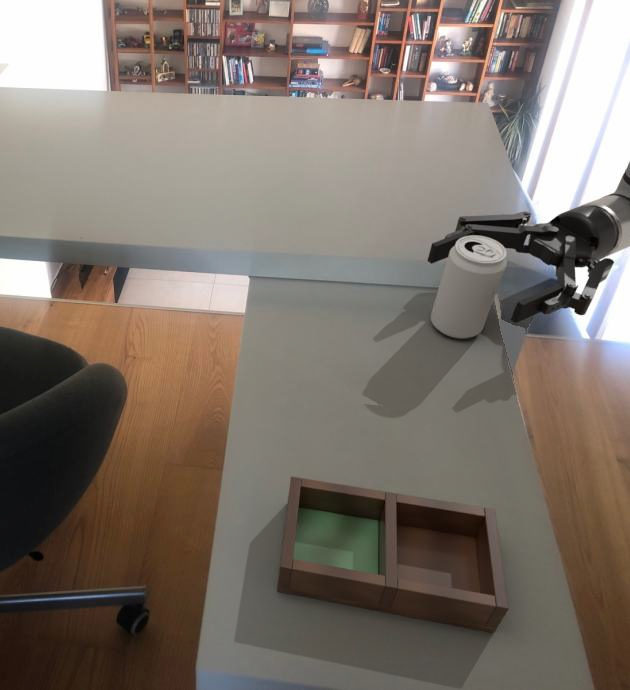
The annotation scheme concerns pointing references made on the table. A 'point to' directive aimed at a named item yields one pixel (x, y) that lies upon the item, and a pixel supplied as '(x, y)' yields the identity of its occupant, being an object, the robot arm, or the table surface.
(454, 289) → the beverage can
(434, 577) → the wooden compartment tray
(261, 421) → the table surface
